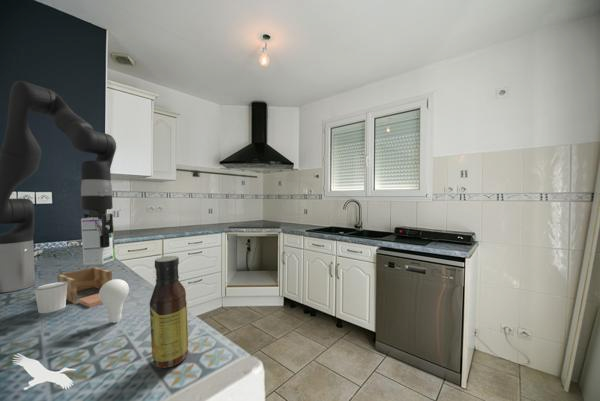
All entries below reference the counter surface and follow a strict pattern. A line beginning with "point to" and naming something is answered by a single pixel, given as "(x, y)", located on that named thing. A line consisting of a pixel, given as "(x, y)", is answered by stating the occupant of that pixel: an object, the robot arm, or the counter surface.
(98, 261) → the syrup box
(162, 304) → the sauce bottle
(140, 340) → the counter surface
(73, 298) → the wooden box
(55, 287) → the white short cylinder
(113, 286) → the lightbulb
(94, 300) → the tile pad
